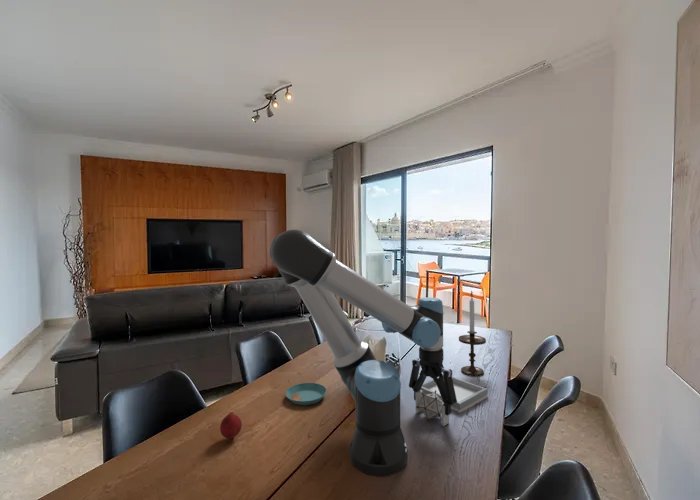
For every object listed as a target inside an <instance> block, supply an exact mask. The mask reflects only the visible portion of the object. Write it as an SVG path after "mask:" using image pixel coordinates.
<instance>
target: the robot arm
mask: <svg viewBox="0 0 700 500" xmlns="http://www.w3.org/2000/svg"><path fill="white" fill-rule="evenodd" d="M269 255H270V258H271V261H272V263H273V264H274V265H275V266H276V269H278V272H279V273H280V275H281V277H282V278H283V280H284V282H285V283H286V285H287V286H289V287H292V288H294V289H295V290H296V292H297V293H298V295H299V297H300V299H301V300H302V301H303V302H302V303H304V305H305V307H306V309H307V311H308V312H309V313H310V315H311V317H312V319H313V320H314V322H315V324H316V326H317V328H318V330H319V331H320V333H321V334H322V337H323V338H324V339H325V341H326V343H327V345H328V347H329V349H330V350H331V352H332V354H333V355H334V358H333V360H332V361H333V363H332V364H333V365H334V367H335V370H336V371H337V372H338V374H339V376H340V378H341V381H342V382H343V384H344V385H345V386H346V388H347V389H348V391H349V393H350V395H351V397H352V398H353V400H354V403H355V404H354V405H355V429H354V432H353V435H352V440H351V442H350V444H349V460H350V462H351V464H352V466H353V467H354V468H355V469H357V470H358V471H360V472H362V473H364V474H367V475H369V476H374V477H375V476H377V477H380V476H381V477H383V476H391V475H394V474H396V473H398V472H400V471H402V470H403V469H404V468H405V467H406V465H407V463H408V459H409V458H408V452H409V450H408V446H407V443H406V441H405V440H406V439H405V437H404V434H403V430H402V428H401V385H402V384H401V379H400V373H399V371H398V369H397V368H396V367H395V365H393V364H392V363H390V362H385V360H380V359H377V358H376V357H375V354H374V352H373V351H372V350H371V348H370V346H369V344H368V342H367V341H363V340H360V339H359V336H358V334H357V333H356V332H355V330H354V328H353V326H352V324H351V323H350V321H349V318H348V317H347V315H346V314H345V311H343V308H342V307H341V305H340V303H339V301H338V299H337V297H339V299H340V298H341V300H342V299H343V300H344V301H345V302H347V303H349V304H351V305H352V306H354V307H356V308H357V309H359V310H360V311H362V312H364V313H365V314H367V315H368V316H370V317H372V318H373V319H375V320H377V321H379V322H380V323H381V325H382V328H383V331H385V333H388V334H390V333H393V334H395V333H399V335H401V336H403V337H405V338H406V339H408V340H409V341H411V342H413V343H414V344H415V345H417V346H419V347H418V358H415V359H412V361H411V364H412V367H411V372H410V377H409V383H408V387H409V388H410V389H412V391H413V400H414V401H415V413H416V414H417V413H421V412H422V411H421V410H420V409H419V408H416V407H417V406H419V404H420V402H421V399H422V396H423V395H422V393H423V391H422V390H420V389H422V388H421V387H422V385H423V383H425V382H426V379H427V377H428V378H431V379H433V380H434V382H436V384H437V387H438V389H439V392H440V395H441V397H442V400H443V402H444V403H442V404H441V406H442V413H441V426H443V427H444V426H446V425H448V424H449V423H450V415H451V414H452V409H451V405H453V404H455V403H456V402H457V399H456V394H455V390H454V385H453V380H452V377H453V370H452V369H451V368H450V369H447V368H445V367H444V365H443V361H444V348H443V347H444V313H445V312H444V305H443V301H442V300H441V299H440V298H438V297H432V296H431V297H428V296H427V297H420V298H419V299H418V301H417V305H408V304H407V303H405V302H404V301H402V300H401V299H399V298H398V297H396V296H395V295H392V294H391V293H389V292H387V291H386V290H384V289H383V288H382V287H380V286H379V285H376V284H375V283H374V282H372V281H371V280H369V279H368V278H366V277H364V276H362V275H361V274H360V273H358V272H356V271H355V270H353V269H352V268H350V267H349V266H347V265H346V264H344V263H342V262H341V261H339V260H338V259H336V255H335V253H334V252H333V251H331V250H329V249H328V248H327V247H325V246H324V245H323V244H321V243H320V242H318V241H317V240H316V239H315V238H314V237H312V236H311V235H310V234H309V233H307V232H305V231H303V230H301V229H288V230H285V231H283V232H280V234H278V235H277V236H275V237H274V239H273V240H272V242H271V245H270V249H269ZM335 295H336V296H337V297H336V296H335ZM420 369H421V370H420ZM443 376H444V377H443ZM437 377H439V378H437ZM443 379H444V380H443Z"/></svg>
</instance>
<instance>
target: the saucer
mask: <svg viewBox="0 0 700 500" xmlns="http://www.w3.org/2000/svg"><path fill="white" fill-rule="evenodd" d="M327 391H328V390H327V387H326V386H324V385H323V384H321V383H316V382H302V383H298V384H294V385H293V386H290V387H289V388H288V389H286V391H285V396H286V398H287V399H288V400H289V401H291V402H292V403H293V404H294V405H298V404H299V405H298V406H309V405H310V404H311V405H314V404H317V403H319V402H320V401H321V400H322V399H323V398H324V397H325V395H326V394H327ZM297 392H298V393H299V395H298V394H297V396H298V399H299V396H300V399H301V396H302V400H301V401H296V400H292V399H291V396H292V395H293V394H295V393H297Z"/></svg>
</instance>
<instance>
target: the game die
mask: <svg viewBox="0 0 700 500" xmlns="http://www.w3.org/2000/svg"><path fill="white" fill-rule="evenodd" d="M422 395H423V396H422V399H421V402H420V404H419V406H417V407H416V406H415V409H416V408H419V409H420V410H421V411H420V412H422V414H423V416H424V417H425V418H426V422H427V423H428V422H429V420H431V419H436V418H439V419H440V420H442V406H441V404H442V403H443V401H442V400H441V399H440V398H439V397H438V395H437V394H436V390H435V393H430V394H425V395H424V394H423V393H422Z"/></svg>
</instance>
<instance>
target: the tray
mask: <svg viewBox="0 0 700 500" xmlns="http://www.w3.org/2000/svg"><path fill="white" fill-rule="evenodd" d="M443 377H444V376H443ZM437 378H439V377H437ZM443 380H444V379H443ZM452 380H453V385H454V390H455V394H456V399H457V402H456V403H455V404H453V405H451V411H452V410H453V411H455V412H456V413H459V414H461V413H462V412H464V411H466V410H468V409H469V408H471V407H473V406H475V405H477V404H478V403H480V402H482V401H483V400H485V399H487V398H488V388H486V387H484V386H480V385H477V384H474V383H472V382H469V381H467V380H463V379H460V378H458V377H455V376H452ZM421 388H422V389H420V390H422V391H423V394H424V395H425V394H430V393H435V390H436V394H437V395H438V397H439V398H440V399H441V400H442V397H441V395H440V392H439V389H438V387H437V384H436V382H434V380H433V378H431V379H429V380H426V381H424V383H423V385H422V387H421ZM442 401H443V400H442ZM443 403H444V402H443Z"/></svg>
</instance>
